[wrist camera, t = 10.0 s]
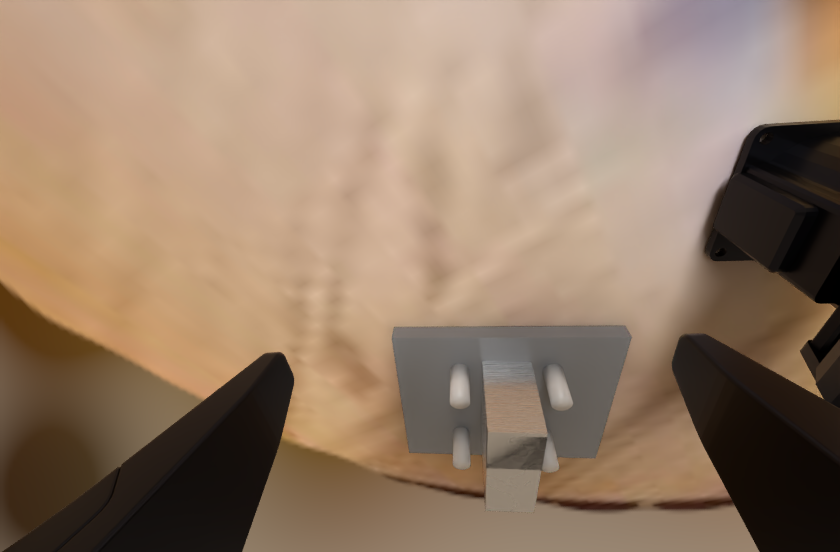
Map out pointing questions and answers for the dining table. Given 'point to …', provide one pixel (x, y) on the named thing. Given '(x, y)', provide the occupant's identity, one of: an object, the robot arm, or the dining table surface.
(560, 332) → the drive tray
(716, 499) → the dining table surface
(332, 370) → the dining table surface
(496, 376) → the block
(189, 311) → the dining table surface
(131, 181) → the dining table surface
